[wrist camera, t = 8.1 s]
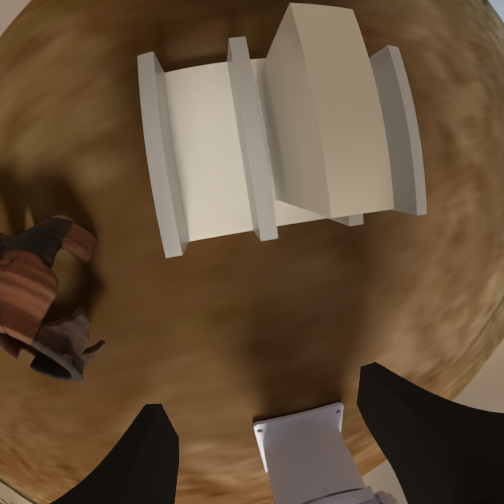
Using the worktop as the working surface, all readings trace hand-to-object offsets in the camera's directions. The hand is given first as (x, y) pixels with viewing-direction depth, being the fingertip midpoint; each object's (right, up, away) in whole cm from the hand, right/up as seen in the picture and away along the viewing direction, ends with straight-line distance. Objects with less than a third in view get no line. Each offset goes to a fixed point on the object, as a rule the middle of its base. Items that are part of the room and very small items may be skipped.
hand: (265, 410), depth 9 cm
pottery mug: (-15, +4, +7) cm, 17 cm away
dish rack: (+1, +12, +7) cm, 14 cm away
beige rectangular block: (+1, +12, +6) cm, 13 cm away
